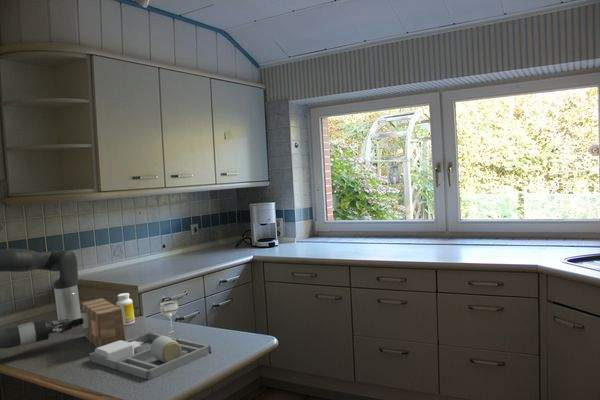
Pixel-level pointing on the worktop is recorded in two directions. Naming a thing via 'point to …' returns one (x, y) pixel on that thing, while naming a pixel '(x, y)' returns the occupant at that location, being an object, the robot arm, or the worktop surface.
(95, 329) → the button terracotta
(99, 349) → the charger
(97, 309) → the panel
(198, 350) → the counter rail frame
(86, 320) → the button sage
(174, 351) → the ceramic mug
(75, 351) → the worktop surface
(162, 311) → the wineglass
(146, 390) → the worktop surface
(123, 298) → the supplement bottle
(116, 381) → the worktop surface
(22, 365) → the worktop surface
